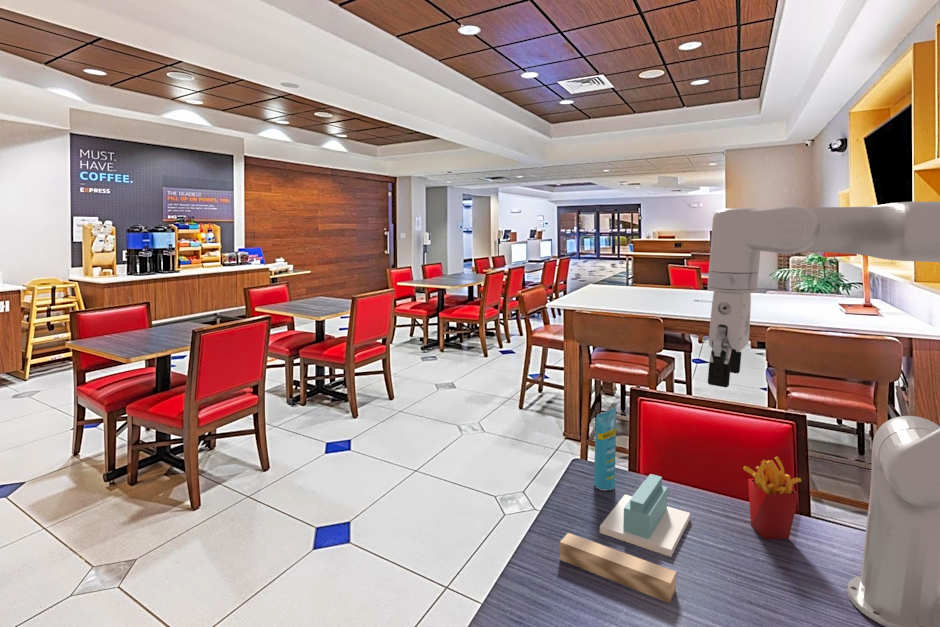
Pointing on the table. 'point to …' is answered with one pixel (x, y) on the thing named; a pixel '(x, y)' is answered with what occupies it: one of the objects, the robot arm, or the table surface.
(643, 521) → the ridge stand
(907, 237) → the robot arm
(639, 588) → the oak bar
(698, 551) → the table surface
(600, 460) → the tube
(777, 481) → the french fries
